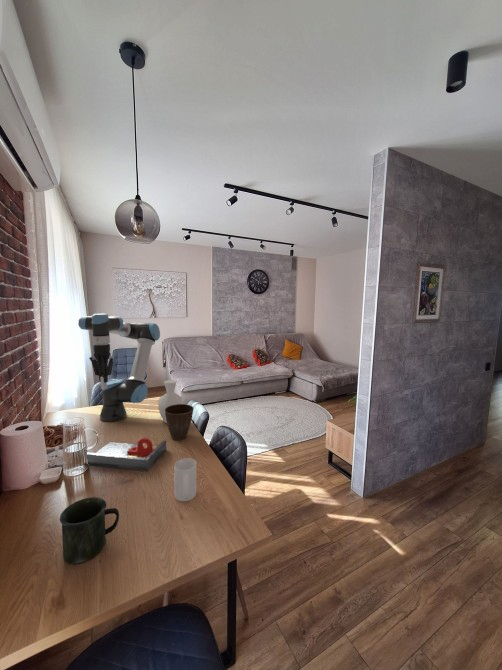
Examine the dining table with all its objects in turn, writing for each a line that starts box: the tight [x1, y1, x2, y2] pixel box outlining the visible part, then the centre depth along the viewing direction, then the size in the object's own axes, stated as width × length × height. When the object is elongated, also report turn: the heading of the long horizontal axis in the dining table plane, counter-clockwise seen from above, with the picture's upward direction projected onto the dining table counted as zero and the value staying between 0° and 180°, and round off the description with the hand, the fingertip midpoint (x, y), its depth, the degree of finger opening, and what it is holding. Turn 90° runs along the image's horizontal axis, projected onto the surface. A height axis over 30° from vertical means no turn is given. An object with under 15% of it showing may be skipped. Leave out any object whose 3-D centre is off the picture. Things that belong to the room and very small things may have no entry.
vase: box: [158, 379, 183, 424], centre depth 167 cm, size 14×14×25 cm
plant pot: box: [165, 403, 194, 441], centre depth 146 cm, size 15×15×16 cm
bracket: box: [127, 437, 154, 456], centre depth 127 cm, size 12×4×8 cm, turn 82°
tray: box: [86, 439, 167, 472], centre depth 126 cm, size 18×30×5 cm, turn 82°
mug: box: [59, 496, 120, 565], centre depth 78 cm, size 11×15×12 cm
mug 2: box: [173, 457, 198, 502], centre depth 99 cm, size 8×12×12 cm
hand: (104, 388), depth 141 cm, fingers closed
